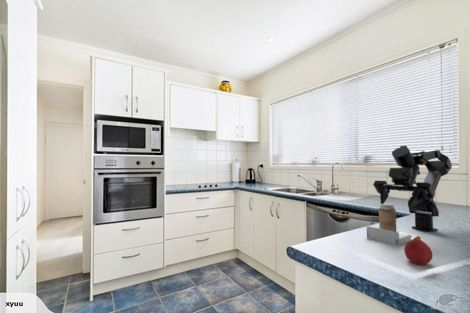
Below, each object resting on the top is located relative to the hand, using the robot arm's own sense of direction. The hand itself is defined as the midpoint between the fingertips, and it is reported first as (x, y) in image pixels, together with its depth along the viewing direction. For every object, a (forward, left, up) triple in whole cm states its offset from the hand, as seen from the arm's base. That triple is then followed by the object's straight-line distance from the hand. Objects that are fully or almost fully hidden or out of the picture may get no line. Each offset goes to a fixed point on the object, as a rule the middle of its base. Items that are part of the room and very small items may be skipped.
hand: (394, 205), depth 83 cm
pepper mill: (+6, +1, -11) cm, 13 cm away
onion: (+18, +18, -12) cm, 28 cm away
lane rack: (+2, 0, -12) cm, 12 cm away
